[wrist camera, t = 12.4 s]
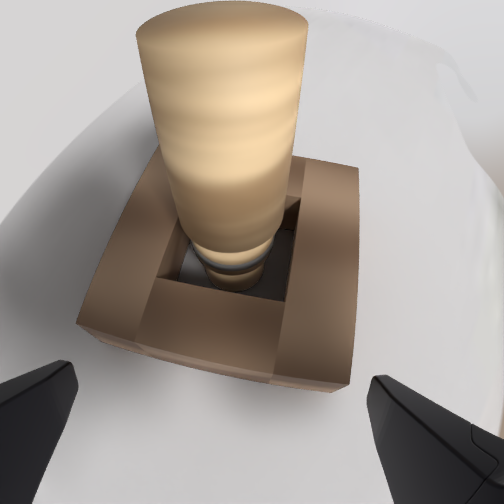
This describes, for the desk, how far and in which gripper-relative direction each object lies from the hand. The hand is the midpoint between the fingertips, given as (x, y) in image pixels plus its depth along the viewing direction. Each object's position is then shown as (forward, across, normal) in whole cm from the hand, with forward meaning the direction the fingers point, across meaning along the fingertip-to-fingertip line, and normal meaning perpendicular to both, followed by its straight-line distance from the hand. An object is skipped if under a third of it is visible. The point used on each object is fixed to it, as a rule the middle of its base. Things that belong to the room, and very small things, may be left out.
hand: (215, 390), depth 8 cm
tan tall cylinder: (+10, 0, -1) cm, 10 cm away
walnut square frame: (+10, 0, -1) cm, 10 cm away
